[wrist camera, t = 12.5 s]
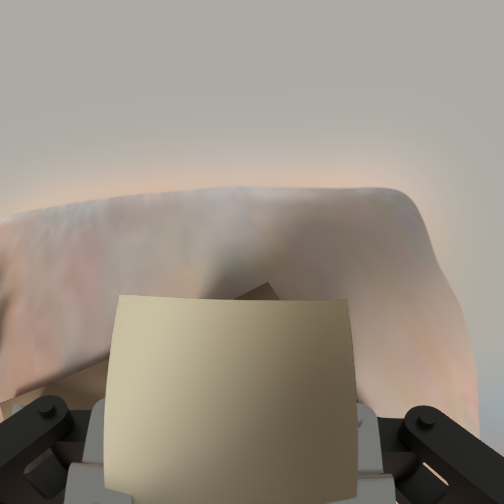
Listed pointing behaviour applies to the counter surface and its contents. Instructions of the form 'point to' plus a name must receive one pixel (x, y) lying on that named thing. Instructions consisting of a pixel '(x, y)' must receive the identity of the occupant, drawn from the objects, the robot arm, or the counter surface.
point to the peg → (231, 402)
